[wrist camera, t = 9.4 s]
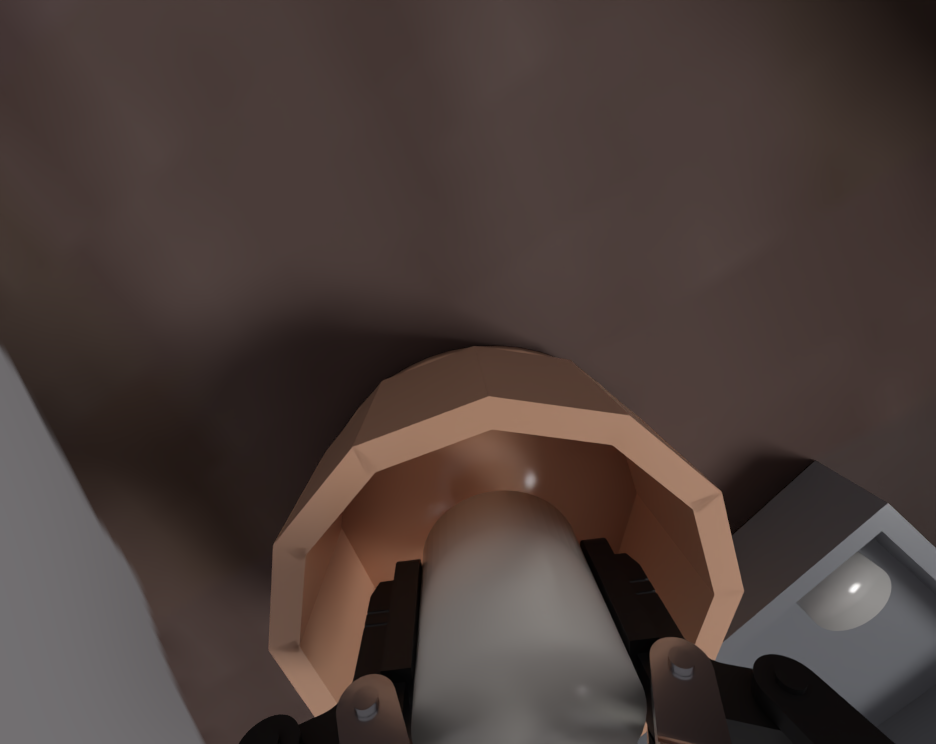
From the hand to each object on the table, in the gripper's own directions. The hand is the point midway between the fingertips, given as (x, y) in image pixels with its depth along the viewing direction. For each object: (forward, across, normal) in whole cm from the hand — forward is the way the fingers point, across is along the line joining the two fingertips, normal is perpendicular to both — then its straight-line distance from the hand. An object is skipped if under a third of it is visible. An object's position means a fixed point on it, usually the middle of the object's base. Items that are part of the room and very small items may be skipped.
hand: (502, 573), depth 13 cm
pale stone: (+1, 0, 0) cm, 1 cm away
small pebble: (+3, -13, +5) cm, 15 cm away
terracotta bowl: (+4, 0, 0) cm, 4 cm away
